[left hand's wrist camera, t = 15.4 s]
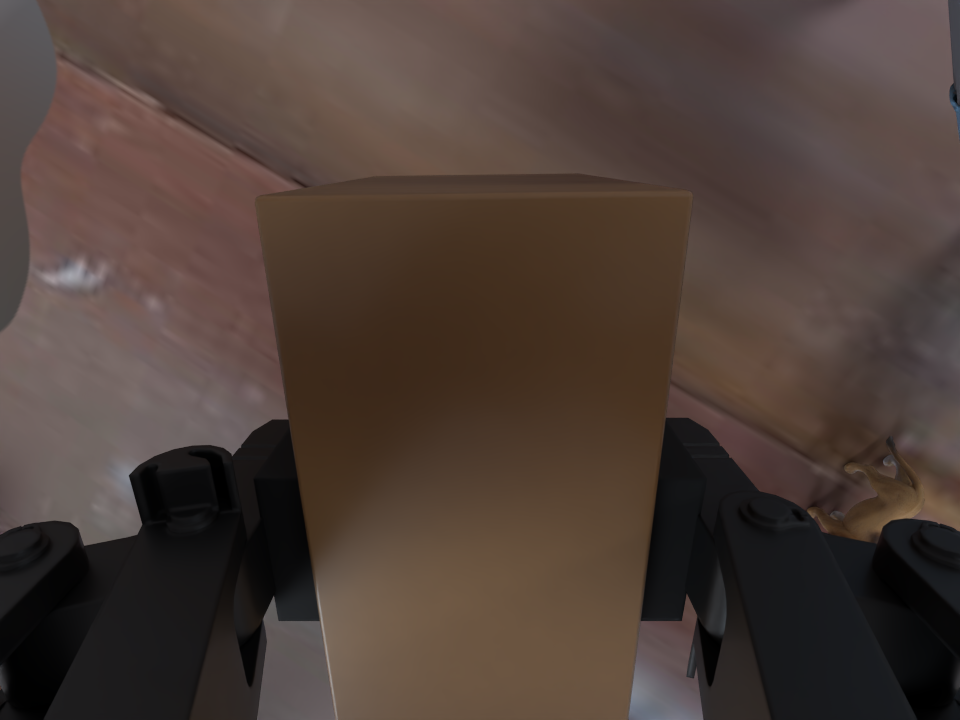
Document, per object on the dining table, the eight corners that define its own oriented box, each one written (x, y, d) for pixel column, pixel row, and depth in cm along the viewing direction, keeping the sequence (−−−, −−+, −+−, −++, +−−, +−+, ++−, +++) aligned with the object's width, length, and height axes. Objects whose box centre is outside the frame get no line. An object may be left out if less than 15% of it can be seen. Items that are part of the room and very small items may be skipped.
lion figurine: (826, 550, 59) (885, 615, 50) (785, 537, 58) (837, 601, 50) (907, 440, 54) (987, 492, 46) (863, 424, 53) (935, 475, 45)
